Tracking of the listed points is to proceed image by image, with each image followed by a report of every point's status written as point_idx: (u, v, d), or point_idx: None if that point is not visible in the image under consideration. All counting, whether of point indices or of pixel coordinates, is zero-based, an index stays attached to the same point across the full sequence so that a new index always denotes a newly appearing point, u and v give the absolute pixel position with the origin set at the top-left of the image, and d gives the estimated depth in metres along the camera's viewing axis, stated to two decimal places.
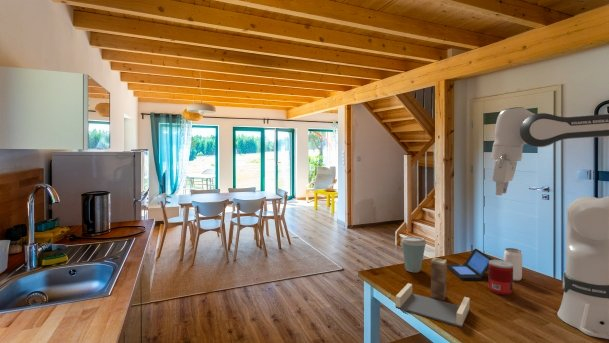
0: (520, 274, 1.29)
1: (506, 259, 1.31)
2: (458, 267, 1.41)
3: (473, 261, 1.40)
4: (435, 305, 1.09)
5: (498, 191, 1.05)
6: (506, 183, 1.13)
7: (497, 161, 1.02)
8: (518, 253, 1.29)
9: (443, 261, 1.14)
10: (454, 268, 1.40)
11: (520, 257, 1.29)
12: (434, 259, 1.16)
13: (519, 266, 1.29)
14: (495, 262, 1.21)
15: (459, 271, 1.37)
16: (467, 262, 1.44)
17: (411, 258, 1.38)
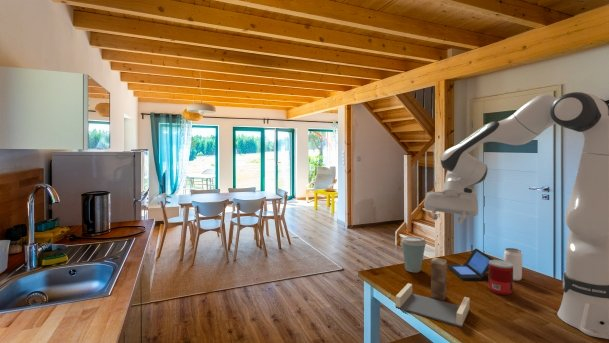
0: (520, 274, 1.29)
1: (506, 259, 1.31)
2: (458, 267, 1.41)
3: (473, 261, 1.40)
4: (435, 305, 1.09)
5: None
6: (462, 213, 1.22)
7: None
8: (518, 253, 1.29)
9: (443, 261, 1.14)
10: (455, 268, 1.40)
11: (520, 257, 1.29)
12: (434, 259, 1.16)
13: (519, 266, 1.29)
14: (495, 262, 1.21)
15: (460, 271, 1.37)
16: (467, 262, 1.44)
17: (411, 258, 1.38)
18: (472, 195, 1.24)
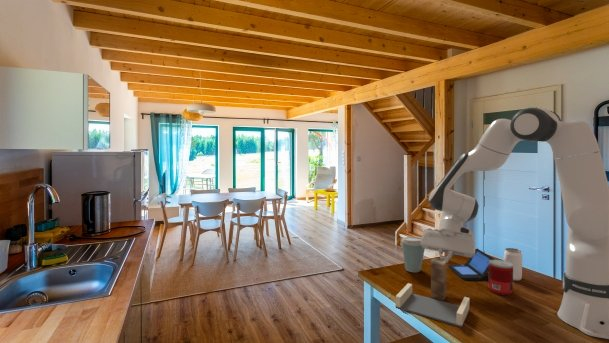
0: (520, 274, 1.29)
1: (506, 259, 1.31)
2: (459, 267, 1.41)
3: (474, 261, 1.40)
4: (435, 305, 1.09)
5: None
6: (448, 253, 1.23)
7: None
8: (518, 253, 1.29)
9: (443, 261, 1.14)
10: (455, 268, 1.40)
11: (520, 257, 1.29)
12: (434, 259, 1.16)
13: (519, 266, 1.29)
14: (495, 262, 1.21)
15: (461, 271, 1.37)
16: (468, 262, 1.44)
17: (411, 258, 1.38)
18: (469, 236, 1.22)
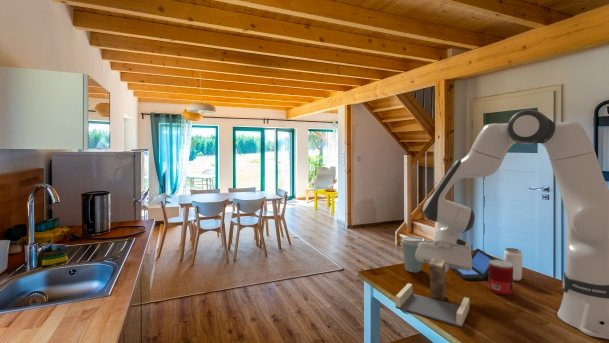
0: (520, 274, 1.29)
1: (506, 259, 1.31)
2: None
3: (475, 261, 1.40)
4: (435, 305, 1.09)
5: None
6: None
7: None
8: (518, 253, 1.29)
9: (441, 263, 1.12)
10: None
11: (520, 257, 1.29)
12: (432, 261, 1.14)
13: (519, 266, 1.29)
14: (495, 262, 1.21)
15: (462, 271, 1.37)
16: None
17: (411, 258, 1.38)
18: (465, 248, 1.16)
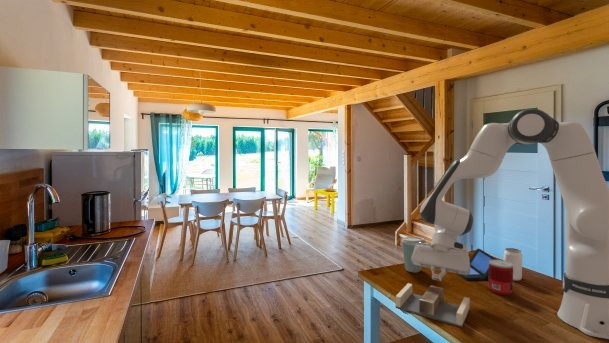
0: (520, 274, 1.29)
1: (506, 259, 1.31)
2: None
3: (476, 261, 1.40)
4: None
5: None
6: (441, 270, 1.14)
7: None
8: (518, 253, 1.29)
9: (431, 310, 1.02)
10: None
11: (520, 257, 1.29)
12: (421, 306, 1.04)
13: (519, 266, 1.29)
14: (495, 262, 1.21)
15: None
16: (470, 262, 1.44)
17: None
18: (463, 251, 1.13)
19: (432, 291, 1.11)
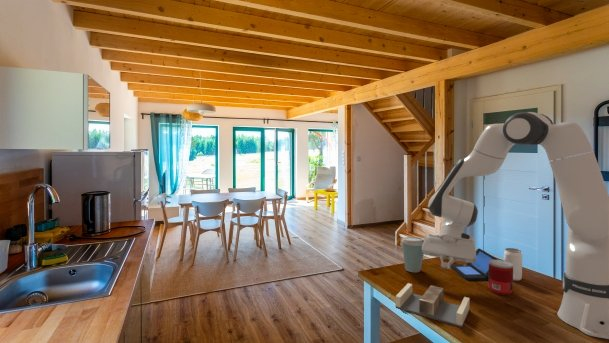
0: (520, 274, 1.29)
1: (506, 259, 1.31)
2: (462, 267, 1.41)
3: (477, 261, 1.40)
4: None
5: None
6: (450, 259, 1.24)
7: None
8: (518, 253, 1.29)
9: (431, 310, 1.02)
10: (458, 268, 1.40)
11: (520, 257, 1.29)
12: (421, 306, 1.04)
13: (519, 266, 1.29)
14: (495, 262, 1.21)
15: (464, 271, 1.37)
16: None
17: (411, 258, 1.38)
18: (470, 241, 1.23)
19: (432, 291, 1.11)
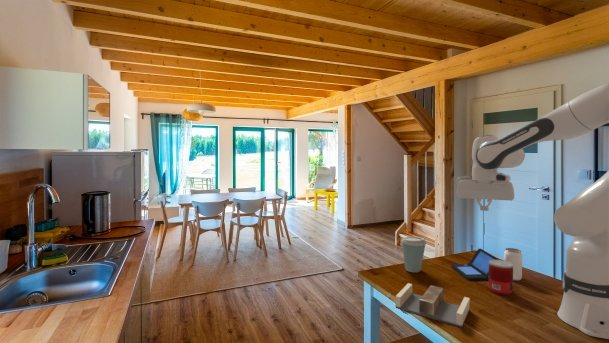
0: (520, 274, 1.29)
1: (506, 259, 1.31)
2: (463, 267, 1.41)
3: (478, 261, 1.40)
4: None
5: (480, 206, 1.27)
6: (487, 201, 1.24)
7: None
8: (518, 253, 1.29)
9: (431, 310, 1.02)
10: (459, 268, 1.40)
11: (520, 257, 1.29)
12: (421, 306, 1.04)
13: (519, 266, 1.29)
14: (495, 262, 1.21)
15: (465, 271, 1.37)
16: (471, 262, 1.44)
17: (411, 258, 1.38)
18: (506, 182, 1.19)
19: (432, 291, 1.11)
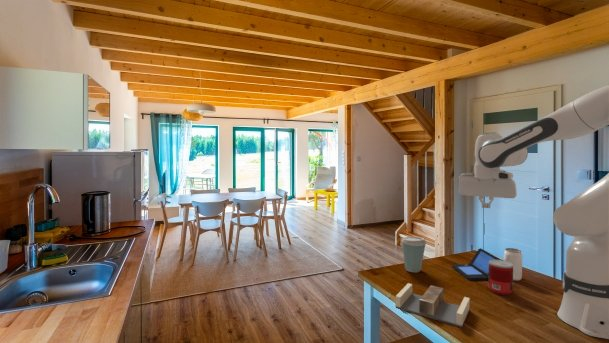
0: (520, 274, 1.29)
1: (506, 259, 1.31)
2: (464, 267, 1.41)
3: (478, 261, 1.40)
4: None
5: None
6: None
7: None
8: (518, 253, 1.29)
9: (431, 310, 1.02)
10: (460, 268, 1.40)
11: (520, 257, 1.29)
12: (421, 306, 1.04)
13: (519, 266, 1.29)
14: (495, 262, 1.21)
15: (465, 271, 1.37)
16: (472, 262, 1.44)
17: (411, 258, 1.38)
18: (508, 180, 1.19)
19: (432, 291, 1.11)
